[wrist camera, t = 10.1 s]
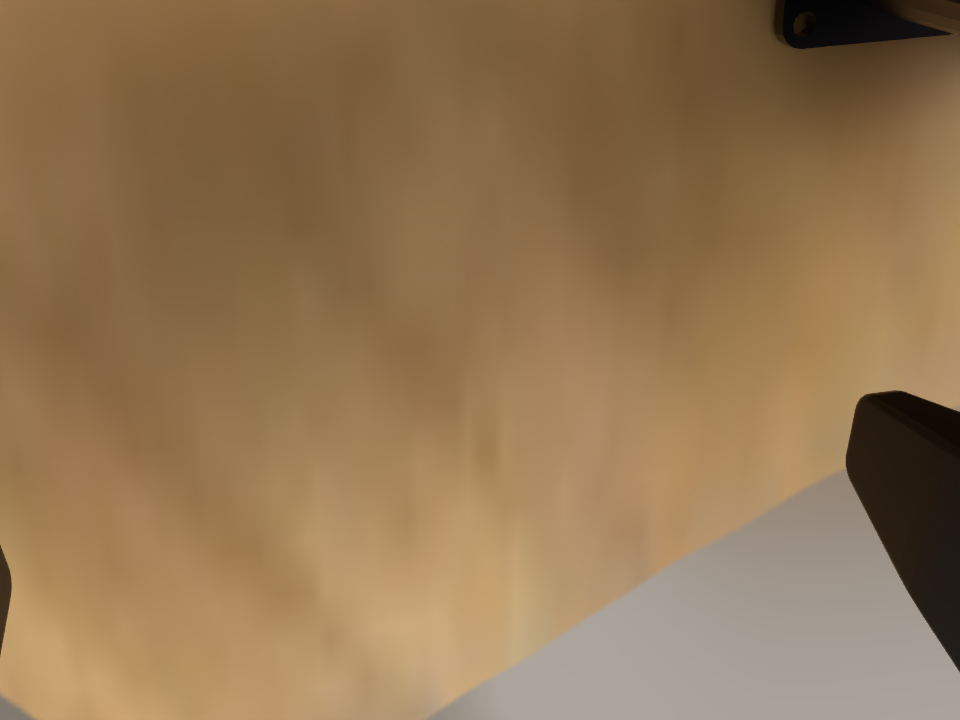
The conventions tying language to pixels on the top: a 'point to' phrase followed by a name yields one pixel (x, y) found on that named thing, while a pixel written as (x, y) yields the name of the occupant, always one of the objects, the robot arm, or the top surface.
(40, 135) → the top surface
